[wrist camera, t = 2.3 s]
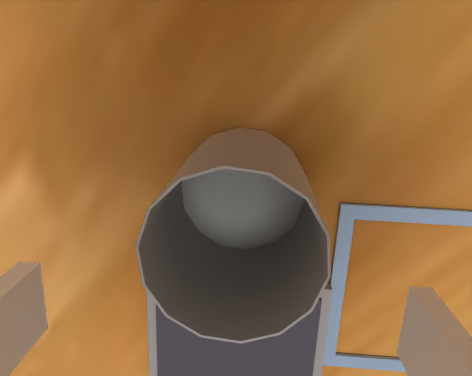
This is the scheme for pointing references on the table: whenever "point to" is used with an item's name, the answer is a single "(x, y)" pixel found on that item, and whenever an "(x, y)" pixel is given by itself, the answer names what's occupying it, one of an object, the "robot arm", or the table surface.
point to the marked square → (340, 268)
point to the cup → (236, 240)
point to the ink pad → (238, 348)
